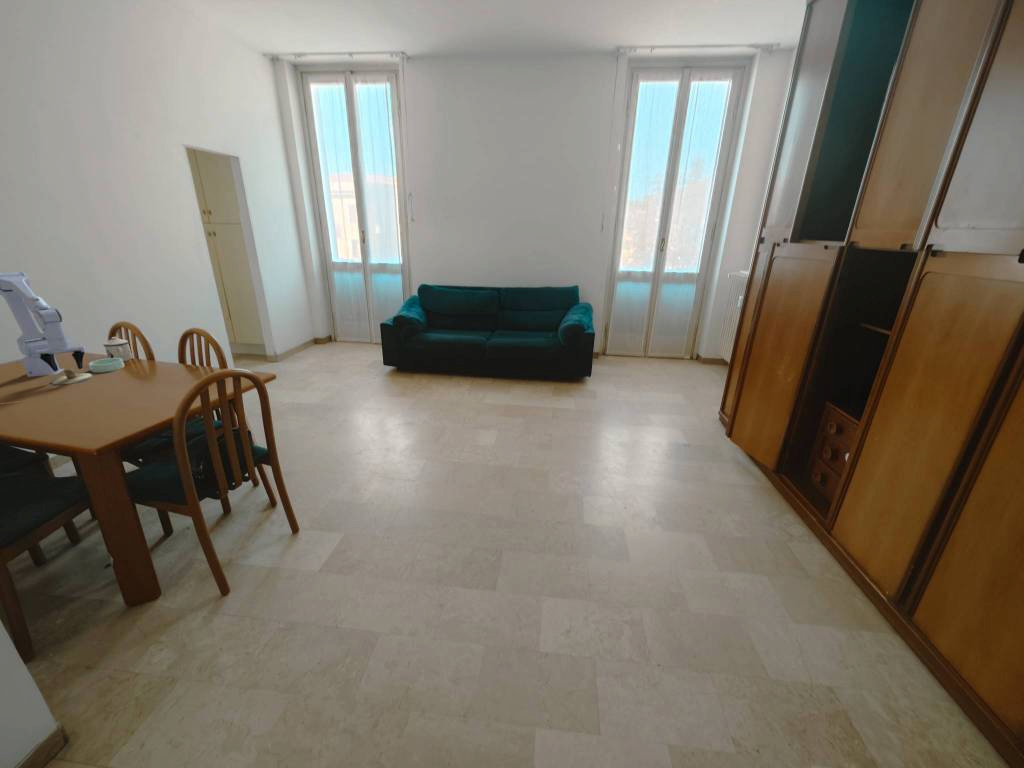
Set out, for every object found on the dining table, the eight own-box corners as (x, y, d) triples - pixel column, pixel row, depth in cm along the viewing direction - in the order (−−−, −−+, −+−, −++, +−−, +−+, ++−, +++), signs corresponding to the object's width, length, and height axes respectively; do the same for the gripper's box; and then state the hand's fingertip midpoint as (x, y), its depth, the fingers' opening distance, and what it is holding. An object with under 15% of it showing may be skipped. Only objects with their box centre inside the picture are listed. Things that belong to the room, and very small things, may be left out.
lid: (46, 386, 165) (42, 376, 163) (59, 377, 175) (55, 367, 173) (85, 382, 170) (82, 372, 168) (96, 373, 180) (93, 364, 178)
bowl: (88, 374, 180) (84, 366, 178) (97, 367, 189) (94, 359, 187) (120, 371, 185) (117, 363, 183) (127, 364, 194) (125, 356, 192)
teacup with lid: (107, 359, 200) (99, 337, 195) (131, 356, 206) (124, 334, 202) (112, 365, 193) (104, 341, 189) (137, 360, 199) (129, 338, 195)
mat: (46, 387, 165) (46, 386, 165) (60, 378, 175) (59, 377, 175) (86, 383, 170) (85, 382, 170) (97, 374, 180) (96, 373, 180)
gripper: (26, 342, 159) (40, 374, 164) (76, 338, 166) (87, 369, 171) (35, 338, 165) (48, 369, 170) (83, 335, 172) (94, 365, 176)
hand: (68, 369), depth 171 cm, fingers open, 7 cm apart
